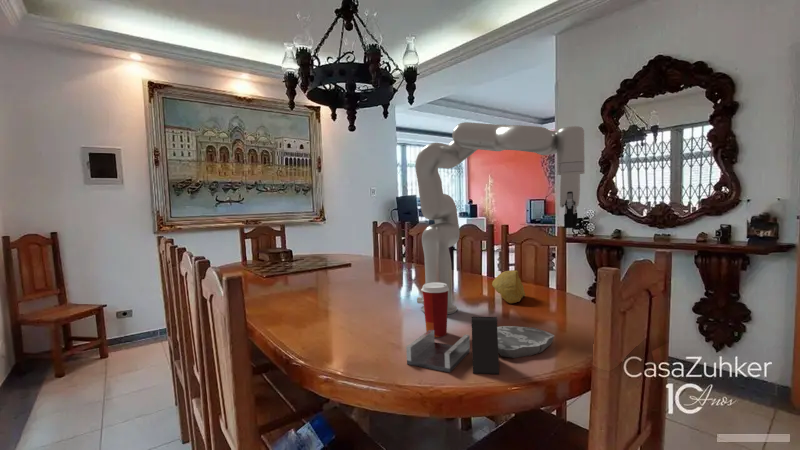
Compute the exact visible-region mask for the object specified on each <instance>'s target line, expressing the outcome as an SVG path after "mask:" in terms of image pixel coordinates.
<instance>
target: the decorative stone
mask: <svg viewBox="0 0 800 450" xmlns="http://www.w3.org/2000/svg"><path fill="white" fill-rule="evenodd" d="M491 283H492V284H491V286H492V287H493V288H494V289H495V291H496V292H497V293H498V294H499V295H500V297H501V298H502V299H503V300H504V301H505V302H507V303H509V304H515V303H517V302H520V301H521V300H522V299H523V298H524V297H526V292H525V288H524V285H523V283H522V280H521V278H520V276H519V271H518V270H504V271H502V272H500V273H499V274H498V275H497V276H496V277H495V278H494V279H493V281H492V282H491Z"/></svg>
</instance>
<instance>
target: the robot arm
mask: <svg viewBox="0 0 800 450" xmlns="http://www.w3.org/2000/svg"><path fill="white" fill-rule="evenodd" d="M451 133H452V134H451V137H452V141H451V142H450V143H448V144H446V143H441V142H432V143H428V144H427V145H425V146H423V147H422V149H421V150H419V152H418V154H417V156H416V160H415V174H416V179H417V180H416V181H417V186H418V196H419V203H420V209H421V214H422V215H423V217H424V218H425V219H427V220H430V221H434V223H433V224H429V225H428V226H427V227H426V228H425V229H424V230H423V231H422V233H421V235H422V236H421V246H422V249H423V256H424V273H425V275H424V279H425V284H426V283H435V282H437V283H445V284H447V286H448V288H449V290H448V308H447V315H450V314H451V315H452V314H454V313H456V312H457V310H458V306H456V305H455V304H453V280H452V279H453V277H452V276H453V275H452V258H451V257H452V256H451V253H450V249H449V248H451V247H454V246H455V245H456V244H457V243H458V241H459V239H460V233H461V232H460V226H459V224H460V223H459V218H458V217H459V216H458V210H457V206H456V202H455V200H454V199H453V198H452V197H451V196H450V195H449V194H446V193H444V190H443V182H442V178H441V176H440V173H439V168H440V169H452V168H455V167H457V166H458V165H460V164H461V163H462V162H463V161H465V160H466V159H468V158H469V157H470V156H471V155H473V154H474V153H476V151H478V150H480V151H490V152H503V151H518V152H525V153H526V152H529V153H534V154H537V155H540V156H550V155H554V154H556V175H557V176H560V180H559V181H560V183H559V185H560V186H559V207H560V208H564V214H563V223H564V228H565V229H576V228H577V226H578V212H577V211H578V210H577V207H578V206H579V204H580V194H581V175H584V174H585V170H586V169H585V130H584V128H583V127H581V126H579V125H578V126H577V125H574V126H573V125H572V126H565V127H561V128H559V129H558V130H555V131H554V130H550V129H548V128H546V127H542V126H537V125H536V126H534V125H520V124H519V125H518V124H497V123H495V124H494V123H483V122H482V123H480V122H460V123H458V124H457V125H456V126H455V127H454V128H453V130H452V132H451ZM416 304H422V305H423V306H422V307H421V310H422V311H421V312H423V313H424V314H425V311H424V300H423V296H418V297H417V298H416Z"/></svg>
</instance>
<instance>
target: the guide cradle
mask: <svg viewBox="0 0 800 450" xmlns="http://www.w3.org/2000/svg"><path fill="white" fill-rule="evenodd" d="M470 339H471V338H470V334H464V335H463V336H462V337H460V339H458V340H457V341H456V342H455V343H454V344H449V343H441V342H435V337H434V330H431V329H430V330H429V331H427V332H425V333H423V334H422V335H421V336H419V337H418V338H416V339H415V340H413V341H412V342H411V343H409V344H408V345H407V346H406V365H408V364H409V366H415V367H418V366H419V368H422V369H423V368H425V369H428V368H429V369H428V370H435V371H439V372H443V371H444V373H448V372H449V373H452V371H453V370H454V369H455V368H456V367H457V366H458V365H459V364H460V363H461V362H462V361H463V359H464V358H465V357H466V356H468V354H470V353H471V347H470V346H471V345H470V341H471V340H470ZM449 373H448V374H449Z"/></svg>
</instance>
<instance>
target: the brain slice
mask: <svg viewBox="0 0 800 450" xmlns="http://www.w3.org/2000/svg"><path fill="white" fill-rule="evenodd" d="M497 334H498V355H499V356H501V357H504V358H512V359H517V358H521V357H530V356H533V355H536V354H541V353H543V351H544V350H546V349H547V348H548V347H549V346H551V344H552V343H553V341H554V338H555V334H554V333H551V332H549V331H546V330H543V329H541V328H537V327H529V326H528V327H527V326H517V325H512V326H511V325H502V326H498V325H497Z"/></svg>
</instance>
